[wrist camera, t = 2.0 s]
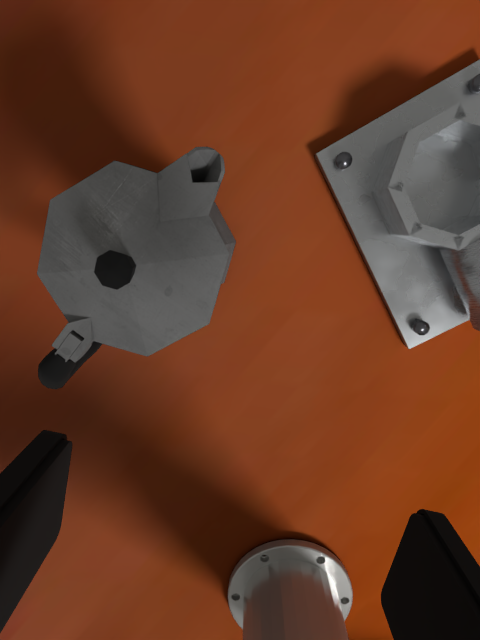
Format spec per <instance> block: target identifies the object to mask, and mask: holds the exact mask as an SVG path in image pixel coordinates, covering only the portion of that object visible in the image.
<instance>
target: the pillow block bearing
mask: <svg viewBox="0 0 480 640" xmlns="http://www.w3.org/2000/svg"><path fill="white" fill-rule="evenodd" d="M314 157H315V159H316V161H317V163H318V165H319V168H320V170H321V172H322V174H323V176H324V178H325V180H326V182H327V184H328V186H329V188H330V191H331V193H332V195H333V197H334V199H335V201H336V203H337V205H338V207H339V209H340V211H341V214H342V216H343V218H344V220H345V222H346V224H347V226H348V228H349V230H350V232H351V234H352V237H353V239H354V241H355V243H356V245H357V247H358V249H359V251H360V253H361V255H362V257H363V260H364V262H365V264H366V266H367V268H368V270H369V272H370V274H371V276H372V278H373V280H374V283H375V285H376V287H377V289H378V291H379V293H380V295H381V297H382V299H383V301H384V303H385V305H386V308H387V310H388V312H389V314H390V316H391V318H392V320H393V322H394V324H395V326H396V328H397V331H398V333H399V335H400V337H401V339H402V341H403V343H404V345H405V346H406V347H407V348H408V349H410V348H412V347H414V346H416V345H418V344H420V343H422V342H425V341H427V340H429V339H431V338H433V337H435V336H437V335H439V334H441V333H443V332H445V331H447V330H449V329H451V328H453V327H455V326H457V325H459V324H461V323H463V322H465V321H467V320H469V319H470V322H471V324H472V326H473V328H474V329H476V330H479V331H480V60H478V61H476V62H475V63H473V64H471V65H469V66H468V67H466V68H464V69H462V70H461V71H459V72H457V73H455V74H454V75H452V76H450V77H449V78H447V79H445V80H443V81H442V82H440V83H438V84H436V85H435V86H433V87H431V88H429V89H428V90H426V91H424V92H422V93H421V94H419V95H417V96H415V97H414V98H412V99H410V100H408V101H407V102H405V103H403V104H402V105H400V106H398V107H396V108H395V109H393V110H391V111H389V112H388V113H386V114H384V115H382V116H381V117H379V118H377V119H375V120H374V121H372V122H370V123H368V124H367V125H365V126H363V127H362V128H360V129H358V130H356V131H355V132H353V133H351V134H349V135H348V136H346V137H344V138H342V139H341V140H339V141H337V142H335V143H334V144H332V145H330V146H328V147H327V148H325V149H323V150H321V151H320V152H318V153H316V154H315V155H314Z"/></svg>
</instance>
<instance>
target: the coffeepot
mask: <svg viewBox="0 0 480 640" xmlns="http://www.w3.org/2000/svg"><path fill="white" fill-rule="evenodd" d="M224 173H225V167H224V160H223V157H222V156H221V155H220V154H219V153H218V152H217V151H215V150H214V149H212V148H209V147H195V148H194V149H193V150H191V151H190V152H189V153H187V154H185V155H184V156H182V157H181V158H179V159H178V160H176V161H175V162H173V163H172V164H170V165H169V166H167V167H166V168H165V169H163V170H162V171H160V172H159V173H155V172H152V171H149V170H146V169H142V168H139V167H136V166H132V165H129V164H125V163H121V162H118V161H113V162H112V163H110V164H109V165H107V166H105V167H104V168H102V169H100V170H99V171H97V172H95V173H94V174H92V175H90V176H89V177H87V178H86V179H84V180H82V181H81V182H79V183H77V184H76V185H74V186H72V187H71V188H69V189H67V190H66V191H64V192H62V193H61V194H59V195H58V196H56V197H54V198H53V199H51V200H50V204H49V210H48V215H47V221H46V226H45V232H44V238H43V243H42V249H41V255H40V260H39V266H38V271H37V275H38V276H39V278H40V279H41V281H42V282H43V284H44V285H45V287H46V288H47V290H48V291H49V293H50V294H51V296H52V298H53V299H54V301H55V302H56V304H57V305H58V307H59V308H60V310H61V311H62V313H63V314H64V316H65V317H66V319H67V320H68V322H69V323H68V324H67V325H66V326H65V328H64V329H63V330H62V332H61V333H60V335H59V336H58V337H57V339H56V340H55V341H54V343H53V344H52V346H53V347H54V348H55V349H53V350H52V351H51V352H50V353H49V354H48V355H47V356H46V357H45V358H44V359H43V360H42V361H41V363H40V364H39V368H38V377H39V379H40V381H41V383H42V384H43V385H44V386H46V387H47V388H51V389H58V388H61V387H63V386H64V384H65V383H66V382H67V381H68V380H69V379H70V377H71V376H72V375H73V374H74V373H75V372H76V371H77V370H78V369H79V368H80V367H81V366H82V364H83V363H84V362H85V361H86V360H87V359H88V358H90V357H91V356H92V355H93V354H94V353H95V352H96V351H97V350H98V349H99V348H100V346H101V345H102V344H106V345H109V346H113V347H116V348H120V349H123V350H127V351H130V352H134V353H137V354H141V355H144V356H149V355H151V354H153V353H155V352H157V351H159V350H160V349H162V348H164V347H166V346H168V345H170V344H172V343H174V342H176V341H177V340H179V339H181V338H183V337H185V336H187V335H189V334H191V333H193V332H194V331H196V330H198V329H200V328H202V327H204V326H206V325H208V324H209V322H210V319H211V315H212V312H213V309H214V306H215V303H216V299H217V296H218V292H219V289H220V285H221V284H222V283H224V281H225V278H226V274H227V271H228V268H229V264H230V261H231V257H232V254H233V250H234V247H235V243H236V241H235V239H234V237H233V235H232V233H231V231H230V230H229V228H228V226H227V224H226V222H225V220H224V218H223V217H222V215H221V213H220V211H219V209H218V207H217V205H216V203H215V202H214V200H215V197H216V195H217V192H218V189H219V186H220V184H221V181H222V178H223V176H224Z"/></svg>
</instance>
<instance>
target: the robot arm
mask: <svg viewBox="0 0 480 640" xmlns="http://www.w3.org/2000/svg"><path fill="white" fill-rule="evenodd" d="M71 451H72V442H71V441H67V437H66V435H65V434H61V433H57V432H52V431H47V430H43V431H42V432H41V433H40V434H39V435H38V436H37V437H36V438H35V439H34V440H33V441H32V442H31V443H30V444H29V445H28V446H27V447H26V448H25V449H24V450H23V451H22V452H21V453H20V454H19V455H18V456H17V457H16V458H15V459H14V460H13V461H12V462H11V463H10V464H9V465H8V466H7V467H6V468H5V469H4V470H3V471H2V473H1V474H0V633H1V631H2V629H3V628H4V626H5V624H6V623H7V621H8V619H9V618H10V616H11V614H12V613H13V611H14V609H15V608H16V606H17V604H18V603H19V601H20V599H21V598H22V596H23V594H24V593H25V591H26V589H27V588H28V586H29V584H30V583H31V581H32V579H33V578H34V576H35V574H36V573H37V571H38V569H39V568H40V566H41V564H42V563H43V561H44V559H45V557H46V556H47V554H48V552H49V551H50V549H51V547H52V546H53V544H54V542H55V541H56V539H57V536H58V534H59V531H60V528H61V522H62V515H63V508H64V501H65V494H66V487H67V479H68V472H69V465H70V458H71ZM352 598H353V592H352V586H351V582H350V579H349V576H348V573H347V571H346V569H345V567H344V566H343V564H342V562H341V561H340V560H339V559H338V558H337V557H336V556H335V555H334V554H333V553H331V552H330V551H328V550H327V549H326V548H324V547H321V546H319V545H317V544H315V543H311V542H308V541H304V540H295V539H286V540H277V541H272V542H268V543H266V544H263V545H261V546H258V547H256V548H255V549H253V550H252V551H250V552H248V553H247V554H246V555H245V556H244V557H243V558H242V559H241V560H240V561H239V562H238V564H237V565H236V566H235V568H234V570H233V572H232V574H231V577H230V581H229V586H228V602H229V608H230V611H231V613H232V616H233V618H234V619H235V621H236V622H237V624H238V625H239V626H240V627H241V628H242V629H243V640H349V638H348V634H347V630H346V626H345V622H344V621H345V620H346V618H347V616H348V614H349V612H350V609H351V605H352ZM381 603H382V607H383V610H384V613H385V616H386V619H387V621H388V624H389V627H390V630H391V633H392V635H393V638H394V640H480V566H479V565H478V564H477V562H476V561H475V559H474V558H473V556H472V555H471V553H470V552H469V550H468V549H467V547H466V546H465V544H464V543H463V541H462V540H461V538H460V537H459V535H458V534H457V532H456V531H455V530H454V528H453V527H452V525H451V524H450V522H449V521H448V519H447V518H446V516H445V515H444V514H442V513H438V512H433V511H429V510H424V509H420V510H419V511H417V513H414V514H412V515H411V516H410V518H409V521H408V524H407V526H406V529H405V531H404V534H403V537H402V539H401V542H400V544H399V547H398V550H397V552H396V555H395V557H394V560H393V563H392V565H391V568H390V570H389V573H388V575H387V578H386V581H385V583H384V586H383V588H382V592H381Z"/></svg>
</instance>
